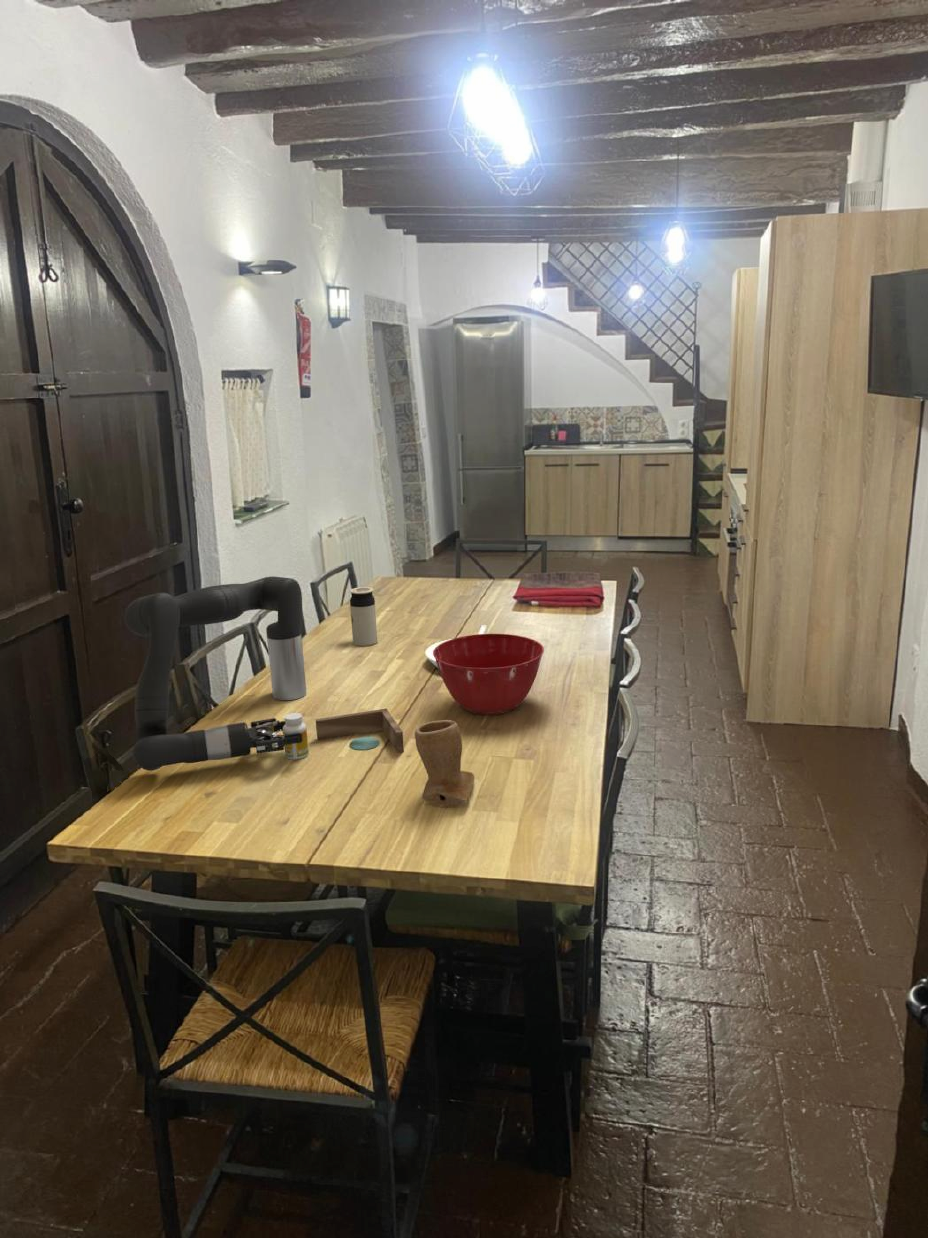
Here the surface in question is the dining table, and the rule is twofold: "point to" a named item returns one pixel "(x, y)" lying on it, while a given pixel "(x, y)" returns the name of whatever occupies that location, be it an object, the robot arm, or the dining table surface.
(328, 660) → the dining table surface
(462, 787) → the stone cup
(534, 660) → the mixing bowl
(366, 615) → the travel mug
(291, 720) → the supplement bottle
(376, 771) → the dining table surface
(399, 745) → the corner arena
